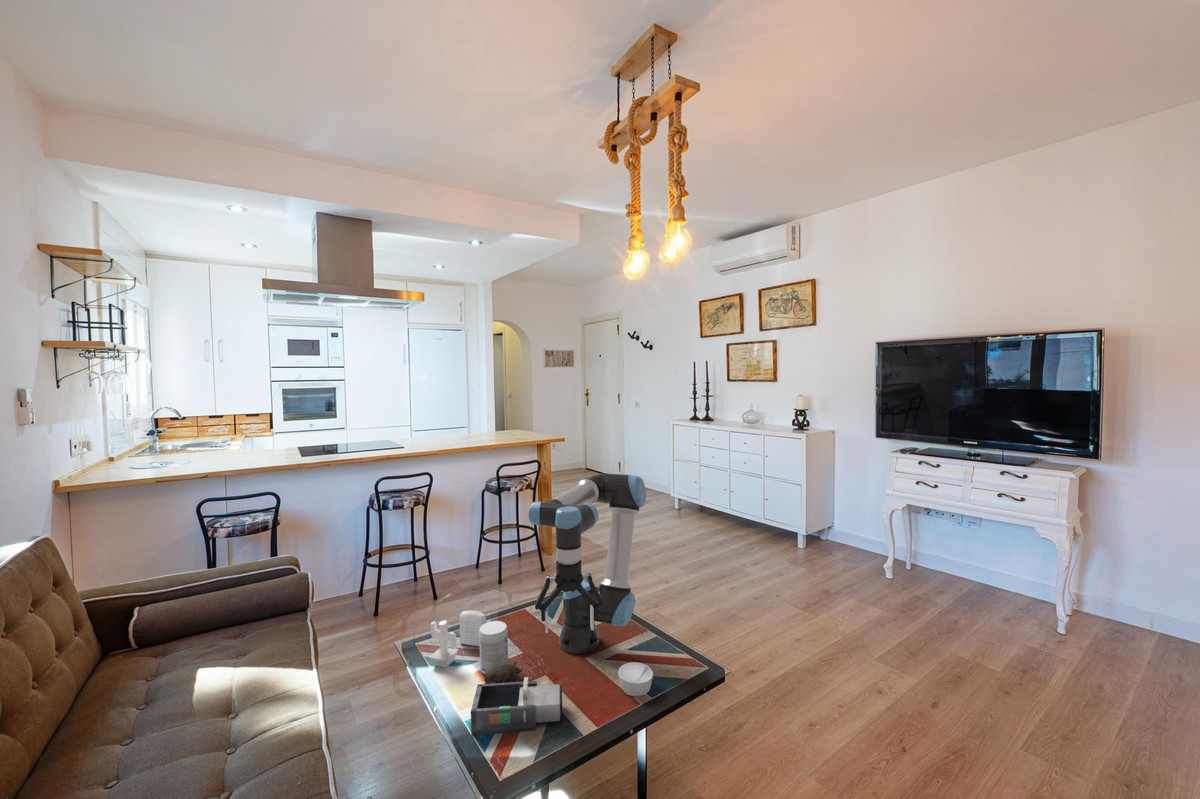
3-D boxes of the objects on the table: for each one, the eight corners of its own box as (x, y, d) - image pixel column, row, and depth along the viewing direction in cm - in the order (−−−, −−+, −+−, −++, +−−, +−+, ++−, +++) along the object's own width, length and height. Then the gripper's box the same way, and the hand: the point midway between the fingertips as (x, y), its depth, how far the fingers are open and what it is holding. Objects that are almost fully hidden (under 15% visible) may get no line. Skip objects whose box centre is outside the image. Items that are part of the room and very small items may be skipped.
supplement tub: (512, 670, 168) (511, 629, 167) (486, 680, 163) (485, 638, 162) (501, 657, 176) (500, 617, 176) (476, 666, 171) (475, 625, 170)
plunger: (562, 699, 151) (561, 671, 151) (562, 720, 142) (562, 690, 142) (520, 702, 150) (519, 674, 150) (518, 723, 141) (517, 693, 141)
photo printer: (488, 641, 187) (487, 610, 186) (482, 648, 182) (482, 615, 182) (464, 638, 189) (463, 607, 188) (458, 644, 185) (457, 612, 184)
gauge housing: (537, 702, 152) (536, 680, 152) (535, 731, 140) (534, 707, 140) (478, 706, 151) (477, 683, 150) (471, 736, 138) (470, 711, 138)
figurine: (450, 671, 168) (448, 629, 168) (426, 667, 171) (425, 625, 170) (461, 659, 175) (460, 618, 174) (439, 655, 178) (437, 615, 177)
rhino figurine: (525, 679, 164) (525, 662, 163) (484, 692, 157) (484, 674, 157) (521, 673, 167) (521, 656, 167) (481, 685, 161) (481, 668, 160)
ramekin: (657, 697, 154) (657, 680, 154) (622, 701, 152) (622, 685, 152) (647, 675, 165) (647, 660, 165) (615, 679, 163) (615, 663, 163)
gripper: (608, 553, 151) (609, 620, 152) (526, 557, 148) (528, 625, 150) (611, 562, 144) (612, 633, 145) (525, 566, 141) (526, 638, 142)
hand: (569, 629), depth 147 cm, fingers open, 13 cm apart
